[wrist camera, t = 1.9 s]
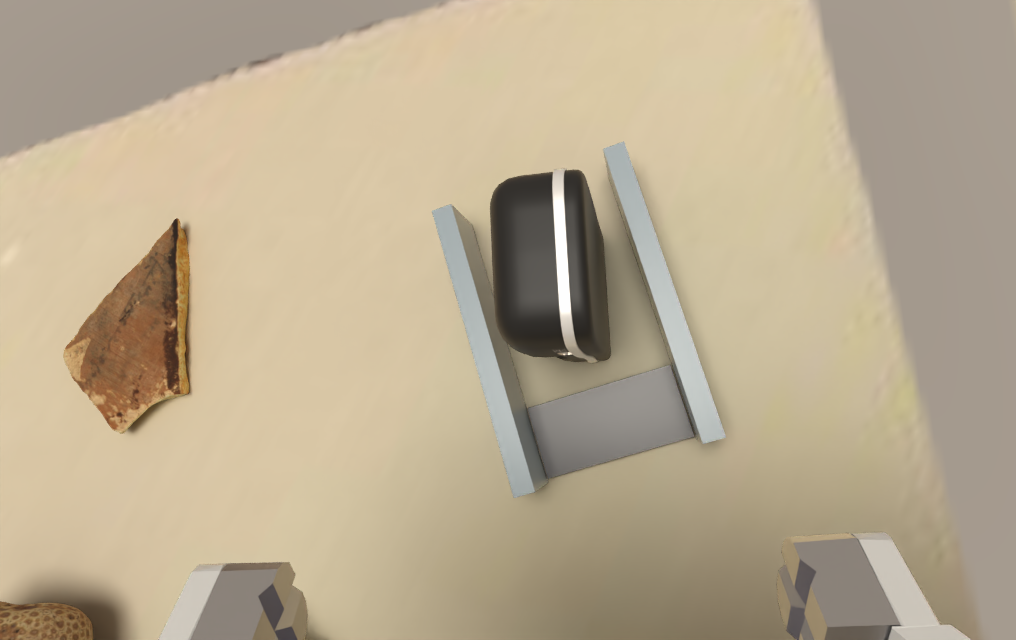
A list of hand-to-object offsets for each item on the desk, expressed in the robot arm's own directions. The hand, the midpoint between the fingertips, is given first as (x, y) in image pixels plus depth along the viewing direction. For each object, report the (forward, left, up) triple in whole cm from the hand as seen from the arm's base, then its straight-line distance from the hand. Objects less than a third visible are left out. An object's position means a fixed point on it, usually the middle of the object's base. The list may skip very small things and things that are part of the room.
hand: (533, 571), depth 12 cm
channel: (0, -7, -23) cm, 24 cm away
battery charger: (0, -8, -24) cm, 25 cm away
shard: (+25, -15, -24) cm, 38 cm away
